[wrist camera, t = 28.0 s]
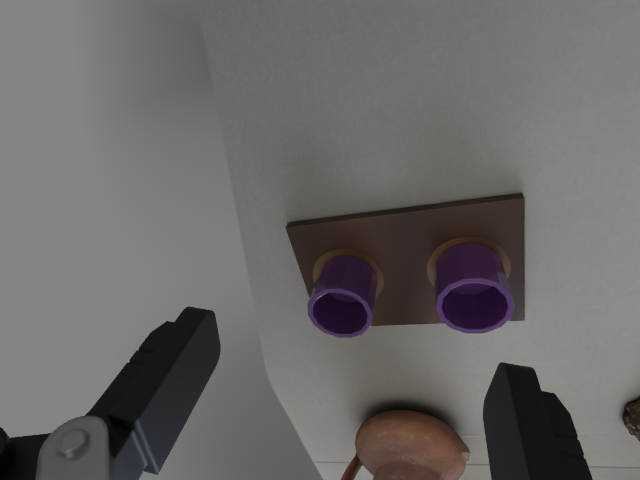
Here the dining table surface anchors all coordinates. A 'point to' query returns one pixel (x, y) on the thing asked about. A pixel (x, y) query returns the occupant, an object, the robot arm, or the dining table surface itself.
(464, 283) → the ramekin
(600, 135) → the dining table surface
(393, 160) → the dining table surface
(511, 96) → the dining table surface
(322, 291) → the ramekin
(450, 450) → the ceramic jug
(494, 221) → the serving board
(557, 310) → the dining table surface
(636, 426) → the bread roll
